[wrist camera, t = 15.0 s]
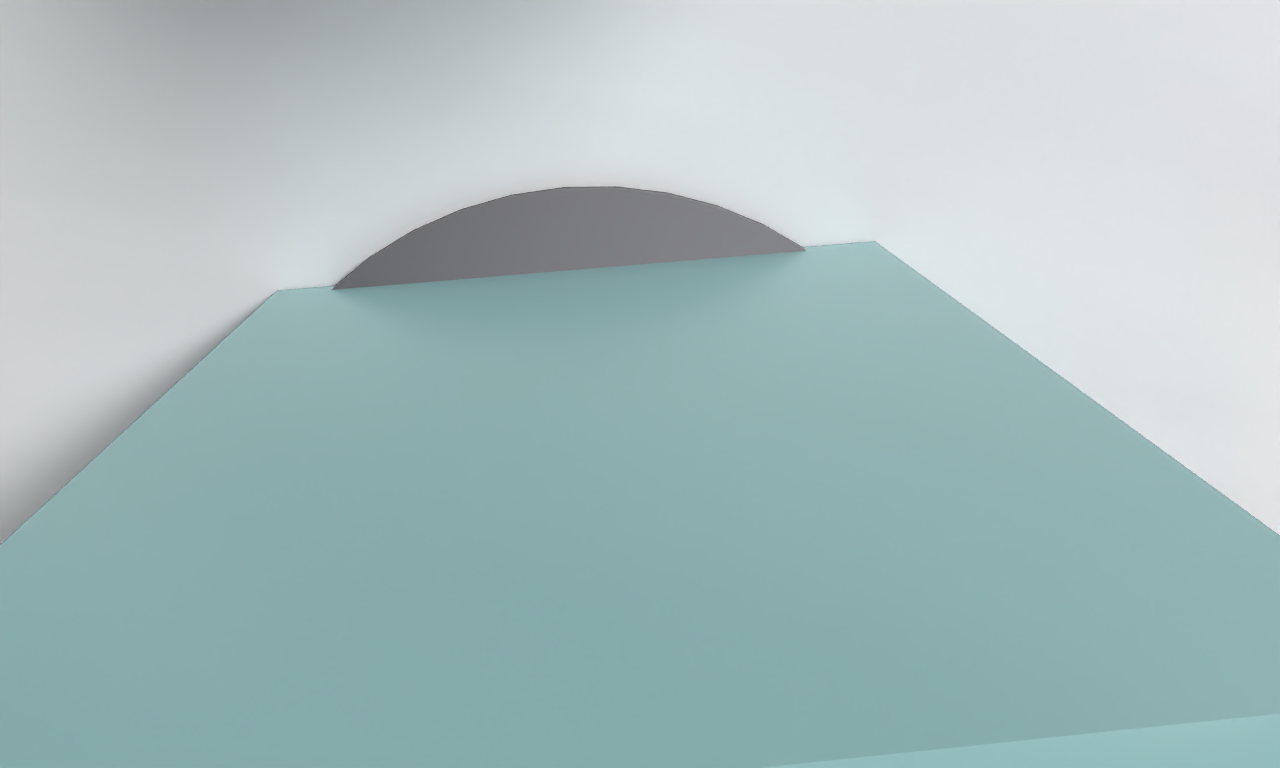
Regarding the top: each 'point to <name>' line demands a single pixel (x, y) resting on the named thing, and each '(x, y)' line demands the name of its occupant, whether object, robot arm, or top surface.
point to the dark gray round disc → (566, 236)
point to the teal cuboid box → (637, 544)
